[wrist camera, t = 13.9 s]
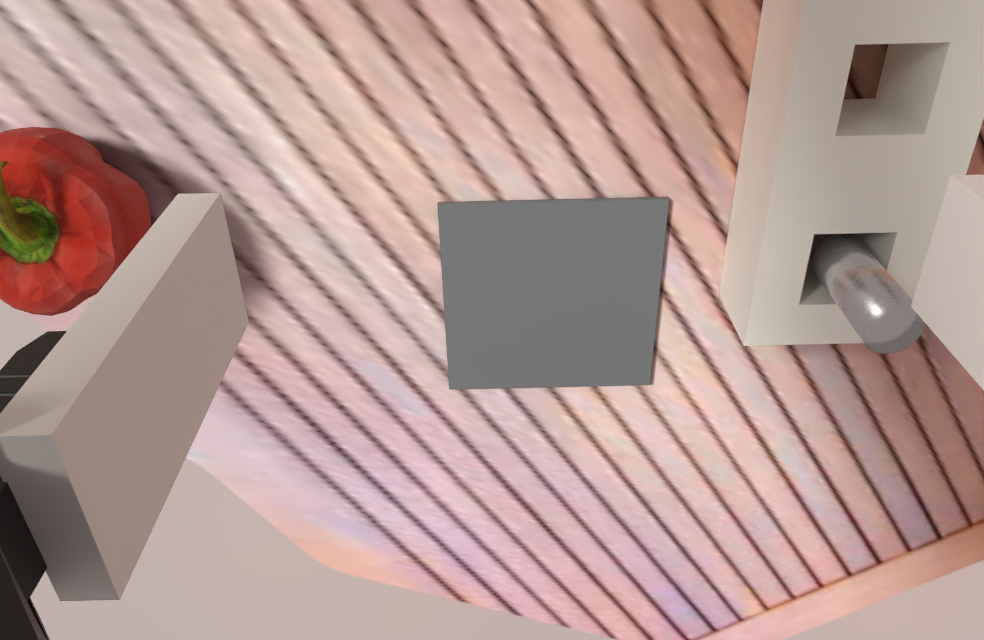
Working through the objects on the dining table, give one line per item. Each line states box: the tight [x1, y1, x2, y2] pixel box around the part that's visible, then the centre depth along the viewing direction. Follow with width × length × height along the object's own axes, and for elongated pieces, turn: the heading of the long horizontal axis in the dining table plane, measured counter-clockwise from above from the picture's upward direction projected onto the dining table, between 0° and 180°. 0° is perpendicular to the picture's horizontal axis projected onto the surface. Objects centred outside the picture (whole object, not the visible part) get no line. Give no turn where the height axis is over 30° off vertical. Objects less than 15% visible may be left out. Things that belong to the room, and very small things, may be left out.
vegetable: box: [0, 127, 151, 316], centre depth 43 cm, size 11×10×10 cm
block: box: [719, 0, 984, 346], centre depth 44 cm, size 20×10×6 cm, turn 1°
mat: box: [438, 197, 669, 389], centre depth 52 cm, size 14×14×1 cm
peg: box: [808, 233, 925, 354], centre depth 44 cm, size 3×3×12 cm
